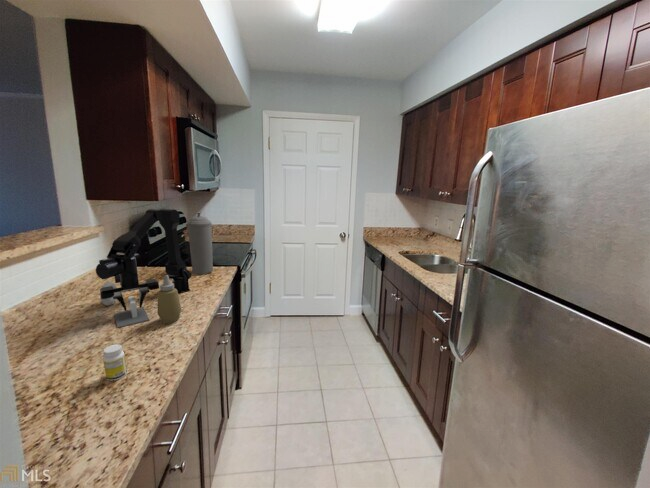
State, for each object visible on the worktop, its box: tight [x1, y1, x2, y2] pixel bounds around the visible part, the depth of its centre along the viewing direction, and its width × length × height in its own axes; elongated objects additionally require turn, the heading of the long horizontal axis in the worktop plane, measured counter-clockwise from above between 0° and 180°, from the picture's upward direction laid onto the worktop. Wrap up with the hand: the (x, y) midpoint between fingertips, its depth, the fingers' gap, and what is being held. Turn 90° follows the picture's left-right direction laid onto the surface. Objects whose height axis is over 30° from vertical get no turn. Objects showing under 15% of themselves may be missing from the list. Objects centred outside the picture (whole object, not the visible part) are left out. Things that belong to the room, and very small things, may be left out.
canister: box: [186, 211, 214, 276], centre depth 166 cm, size 13×13×35 cm
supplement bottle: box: [102, 343, 128, 382], centre depth 79 cm, size 5×5×8 cm
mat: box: [113, 306, 150, 329], centre depth 114 cm, size 10×14×1 cm
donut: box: [99, 281, 118, 306], centre depth 124 cm, size 10×4×10 cm, turn 14°
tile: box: [127, 295, 138, 318], centre depth 115 cm, size 8×2×6 cm, turn 39°
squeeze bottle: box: [157, 274, 182, 324], centre depth 110 cm, size 8×8×18 cm
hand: (133, 308), depth 115 cm, fingers open, 5 cm apart
